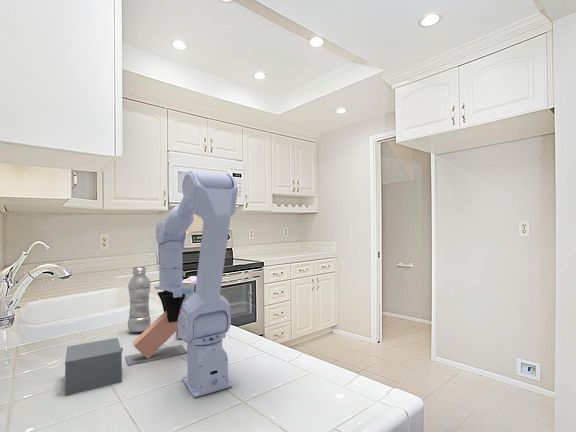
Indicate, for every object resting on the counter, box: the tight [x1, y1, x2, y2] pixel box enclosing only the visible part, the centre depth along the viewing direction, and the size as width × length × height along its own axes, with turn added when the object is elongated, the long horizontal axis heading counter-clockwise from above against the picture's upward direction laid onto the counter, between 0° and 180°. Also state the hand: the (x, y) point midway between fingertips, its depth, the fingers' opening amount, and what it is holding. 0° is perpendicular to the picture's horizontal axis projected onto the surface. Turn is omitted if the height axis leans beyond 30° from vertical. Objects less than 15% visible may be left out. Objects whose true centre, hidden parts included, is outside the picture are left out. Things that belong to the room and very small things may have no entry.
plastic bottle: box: [127, 266, 152, 333], centre depth 104 cm, size 6×7×20 cm
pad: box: [124, 344, 187, 367], centre depth 84 cm, size 6×14×1 cm, turn 122°
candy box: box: [175, 275, 197, 340], centre depth 102 cm, size 14×6×16 cm, turn 179°
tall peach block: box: [132, 311, 178, 359], centre depth 84 cm, size 3×11×5 cm
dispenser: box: [64, 337, 124, 396], centre depth 72 cm, size 10×10×6 cm
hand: (171, 320), depth 86 cm, fingers open, 3 cm apart
